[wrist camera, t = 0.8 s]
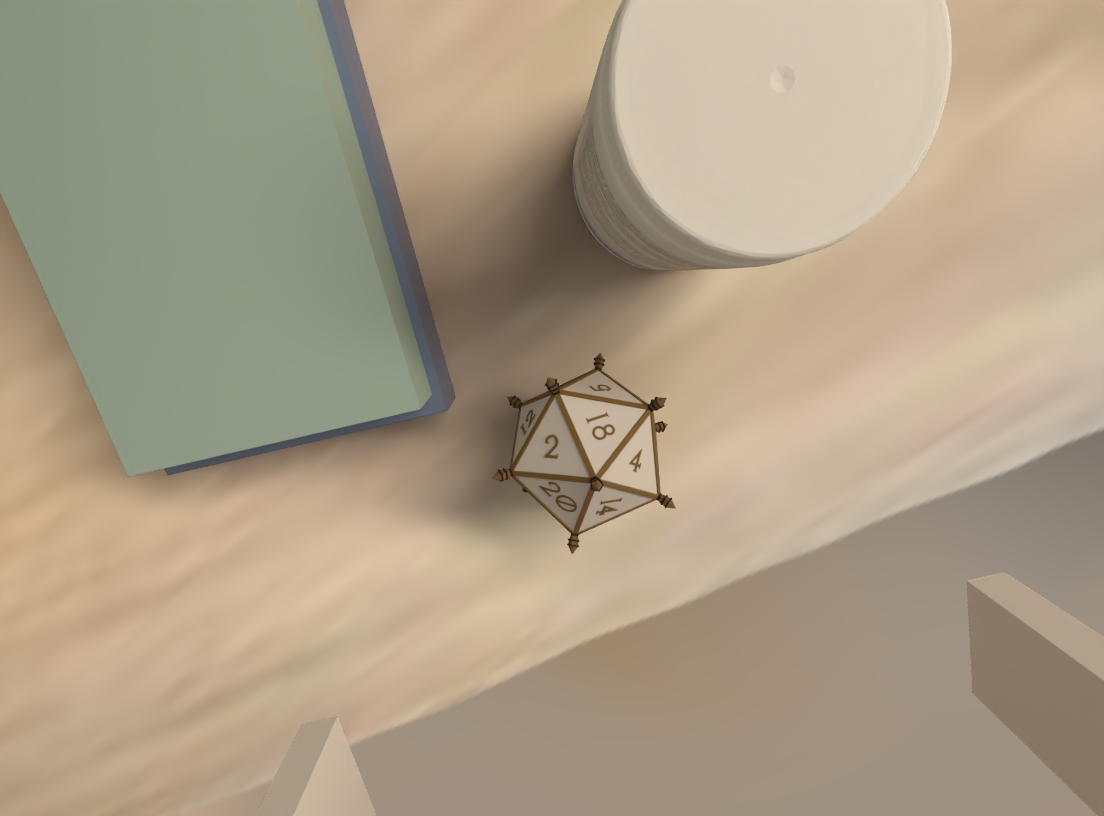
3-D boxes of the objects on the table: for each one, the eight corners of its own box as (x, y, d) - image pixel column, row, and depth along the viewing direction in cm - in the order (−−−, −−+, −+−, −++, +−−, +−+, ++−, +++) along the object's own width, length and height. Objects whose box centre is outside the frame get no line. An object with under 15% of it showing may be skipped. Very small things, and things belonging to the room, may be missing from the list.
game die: (677, 457, 33) (735, 537, 23) (546, 516, 34) (549, 618, 24) (615, 318, 31) (651, 342, 21) (477, 384, 31) (450, 437, 22)
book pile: (17, 31, 27) (-128, -35, 21) (329, -50, 26) (269, -140, 20) (194, 457, 32) (118, 500, 26) (455, 397, 32) (436, 427, 26)
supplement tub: (734, 279, 30) (908, 292, 16) (560, 259, 30) (581, 255, 16) (770, 81, 28) (1011, -108, 14) (582, 56, 28) (630, -165, 13)
